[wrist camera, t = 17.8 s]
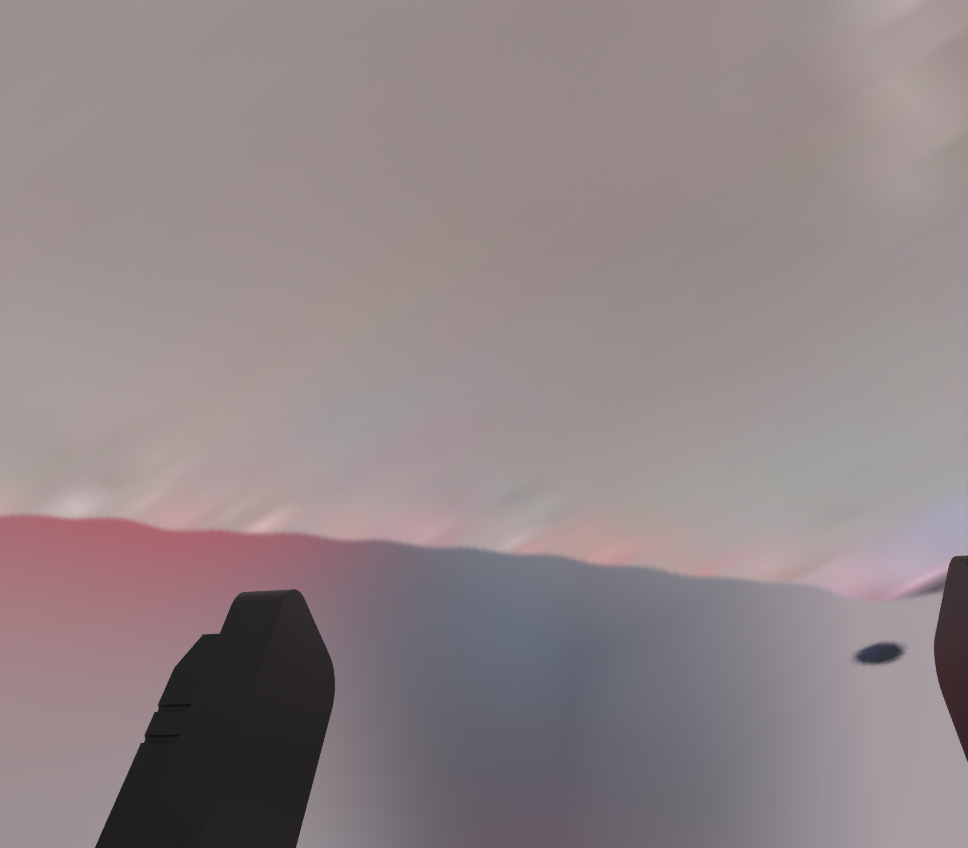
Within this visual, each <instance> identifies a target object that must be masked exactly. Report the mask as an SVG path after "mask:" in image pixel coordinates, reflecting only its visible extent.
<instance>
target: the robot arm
mask: <svg viewBox="0 0 968 848" xmlns="http://www.w3.org/2000/svg"><path fill="white" fill-rule="evenodd" d="M934 656H935V665H936V671H937V676H938V681H939V684H940V688H941V691H942V694H943V697H944V700H945V702H946V705H947V708H948V710H949V713H950V716H951V718H952V721H953V724H954V726H955V729H956V732H957V734H958V737H959V740H960V743H961V745H962V748H963V751H964V753H965V756H966V759H967V761H968V556H955V557H953V558H952V560H951V562H950V564H949V568H948V573H947V578H946V583H945V588H944V593H943V598H942V603H941V608H940V613H939V619H938V624H937V629H936V634H935V640H934ZM334 693H335V677H334V669H333V664H332V661H331V658H330V655H329V653H328V651H327V649H326V646H325V644H324V642H323V640H322V637H321V635H320V633H319V631H318V629H317V626H316V624H315V622H314V619H313V617H312V615H311V613H310V610H309V608H308V606H307V604H306V601H305V599H304V597H303V596H302V594H301V593H300V592H299V591H298V590H295V589H292V590H275V591H255V592H242V593H240V594H239V595H238V596H237V597H236V598H235V599H234V601H233V603H232V605H231V607H230V610H229V612H228V615H227V617H226V620H225V622H224V625H223V627H222V630H221V632H220V634H207V635H202V636H201V638H200V639H199V640H198V641H197V642H196V643H195V645H194V646H193V647H192V648H191V649H190V650H189V652H188V653H187V654H186V655H185V656H184V657H183V658H182V659H181V661H180V662H179V663H178V664H177V665H176V666H175V668H174V670H173V672H172V674H171V676H170V679H169V681H168V684H167V686H166V688H165V690H164V693H163V695H162V697H161V699H160V701H159V704H158V706H159V710H158V712H155V713H154V715H153V718H152V720H151V722H150V724H149V726H148V729H147V731H146V733H145V742H144V743H141V744H140V747H139V749H138V752H137V754H136V756H135V758H134V760H133V763H132V765H131V767H130V770H129V772H128V774H127V776H126V779H125V781H124V783H123V785H122V788H121V790H120V792H119V795H118V797H117V799H116V802H115V804H114V806H113V808H112V810H111V813H110V815H109V817H108V819H107V822H106V824H105V826H104V829H103V831H102V833H101V835H100V837H99V840H98V842H97V844H96V847H95V848H296V845H297V842H298V838H299V834H300V830H301V826H302V822H303V818H304V815H305V811H306V807H307V803H308V799H309V795H310V792H311V788H312V784H313V780H314V776H315V772H316V768H317V765H318V761H319V757H320V753H321V749H322V745H323V742H324V738H325V734H326V730H327V726H328V722H329V719H330V715H331V711H332V707H333V701H334Z"/></svg>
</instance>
